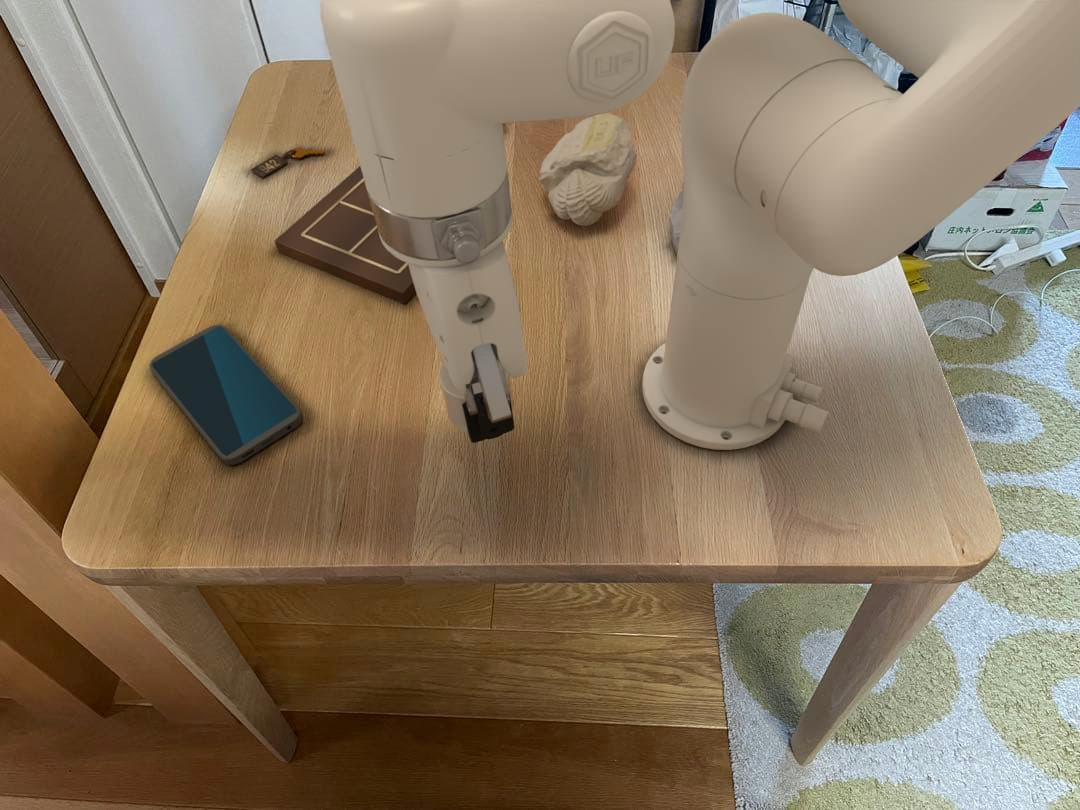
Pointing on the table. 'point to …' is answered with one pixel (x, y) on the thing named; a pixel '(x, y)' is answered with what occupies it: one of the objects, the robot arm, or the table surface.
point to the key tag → (281, 161)
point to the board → (348, 242)
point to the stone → (460, 397)
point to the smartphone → (226, 394)
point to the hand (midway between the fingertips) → (479, 403)
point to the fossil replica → (589, 168)
